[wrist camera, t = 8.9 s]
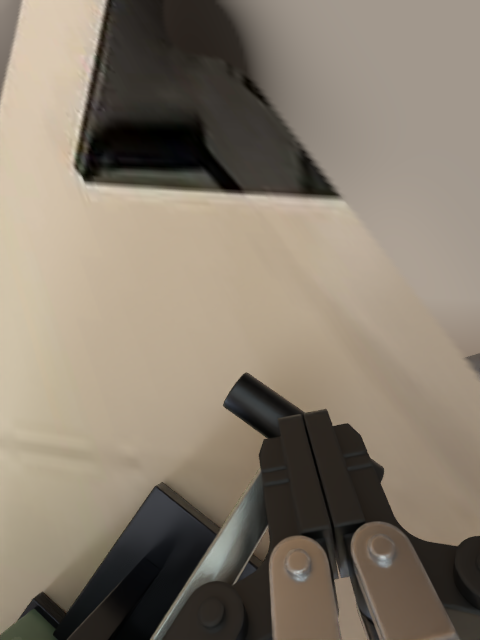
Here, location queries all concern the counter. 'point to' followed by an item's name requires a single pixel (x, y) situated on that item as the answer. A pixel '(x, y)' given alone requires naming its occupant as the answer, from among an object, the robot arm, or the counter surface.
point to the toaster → (36, 621)
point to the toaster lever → (250, 511)
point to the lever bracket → (143, 571)
